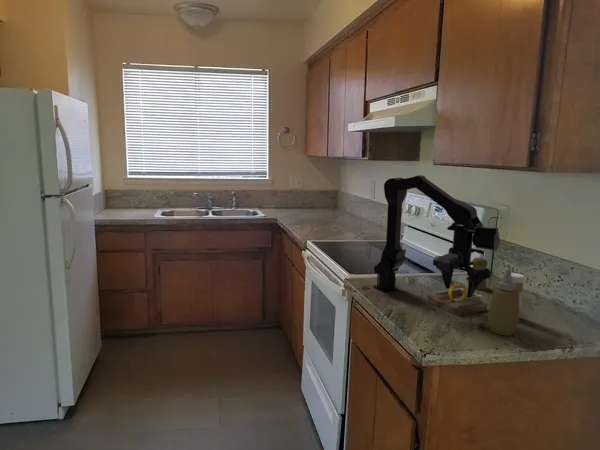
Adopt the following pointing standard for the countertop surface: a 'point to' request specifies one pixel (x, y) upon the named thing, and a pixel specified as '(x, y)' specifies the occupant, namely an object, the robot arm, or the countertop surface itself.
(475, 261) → the wooden pepper mill
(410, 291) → the countertop surface
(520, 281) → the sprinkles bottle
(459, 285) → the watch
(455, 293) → the dock
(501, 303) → the squeeze bottle
